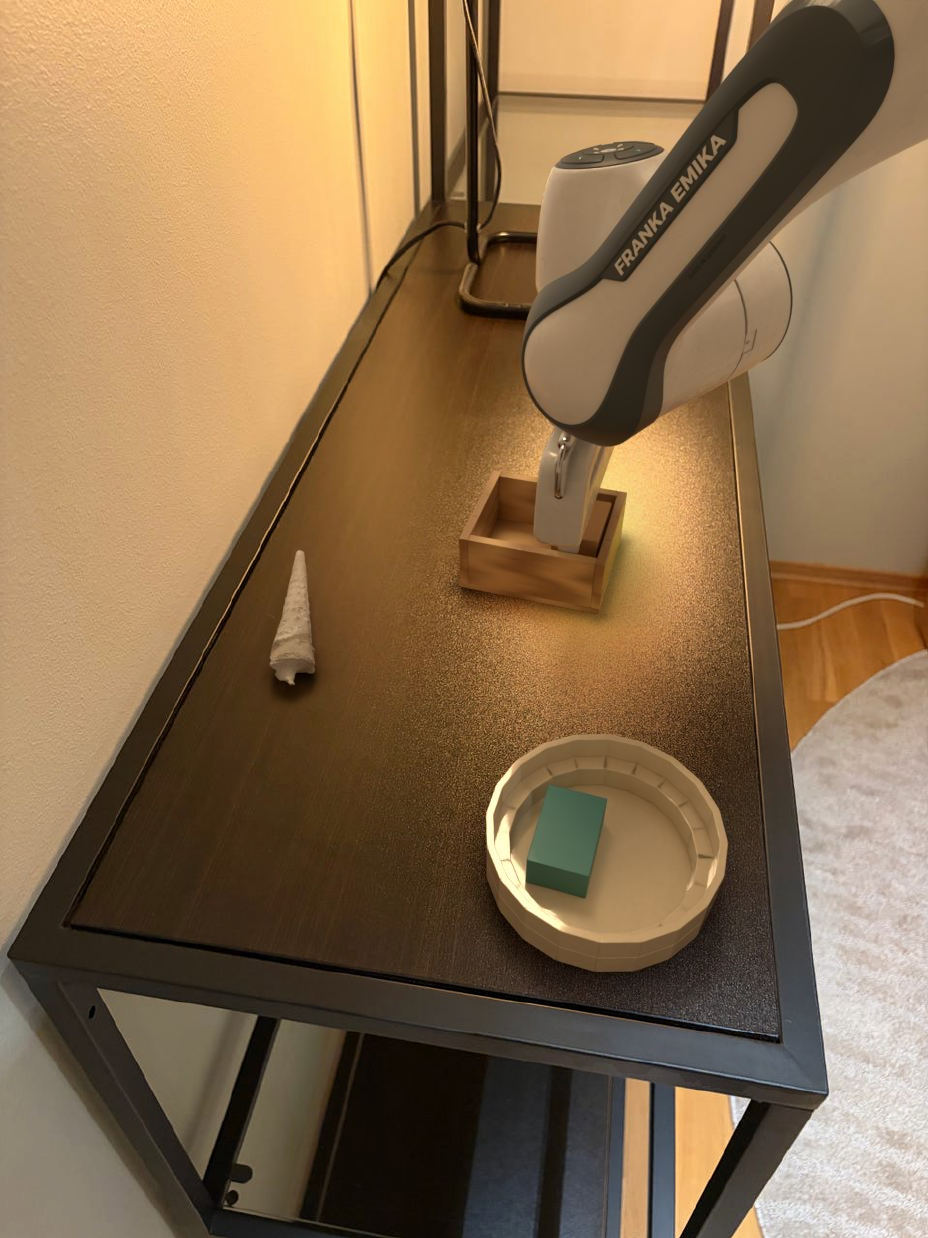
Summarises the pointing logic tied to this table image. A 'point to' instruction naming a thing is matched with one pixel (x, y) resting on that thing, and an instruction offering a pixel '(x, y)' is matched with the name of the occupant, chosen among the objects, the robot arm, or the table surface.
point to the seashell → (294, 628)
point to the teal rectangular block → (566, 841)
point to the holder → (532, 549)
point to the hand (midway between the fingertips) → (578, 522)
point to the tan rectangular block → (594, 530)
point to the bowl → (610, 853)
